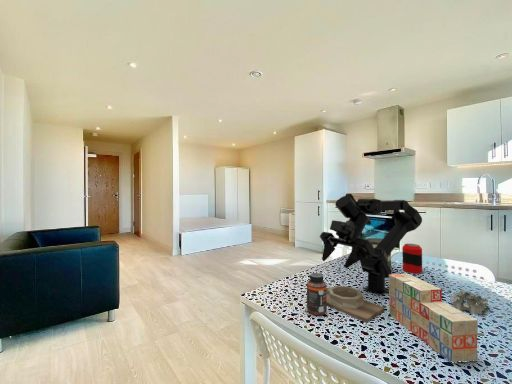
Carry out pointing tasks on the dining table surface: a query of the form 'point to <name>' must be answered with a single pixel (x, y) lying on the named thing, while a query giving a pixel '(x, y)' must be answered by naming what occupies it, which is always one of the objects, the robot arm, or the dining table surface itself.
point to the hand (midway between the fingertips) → (333, 263)
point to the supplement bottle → (316, 294)
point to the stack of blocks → (432, 318)
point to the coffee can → (374, 243)
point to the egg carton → (469, 302)
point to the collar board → (361, 311)
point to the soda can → (412, 258)
